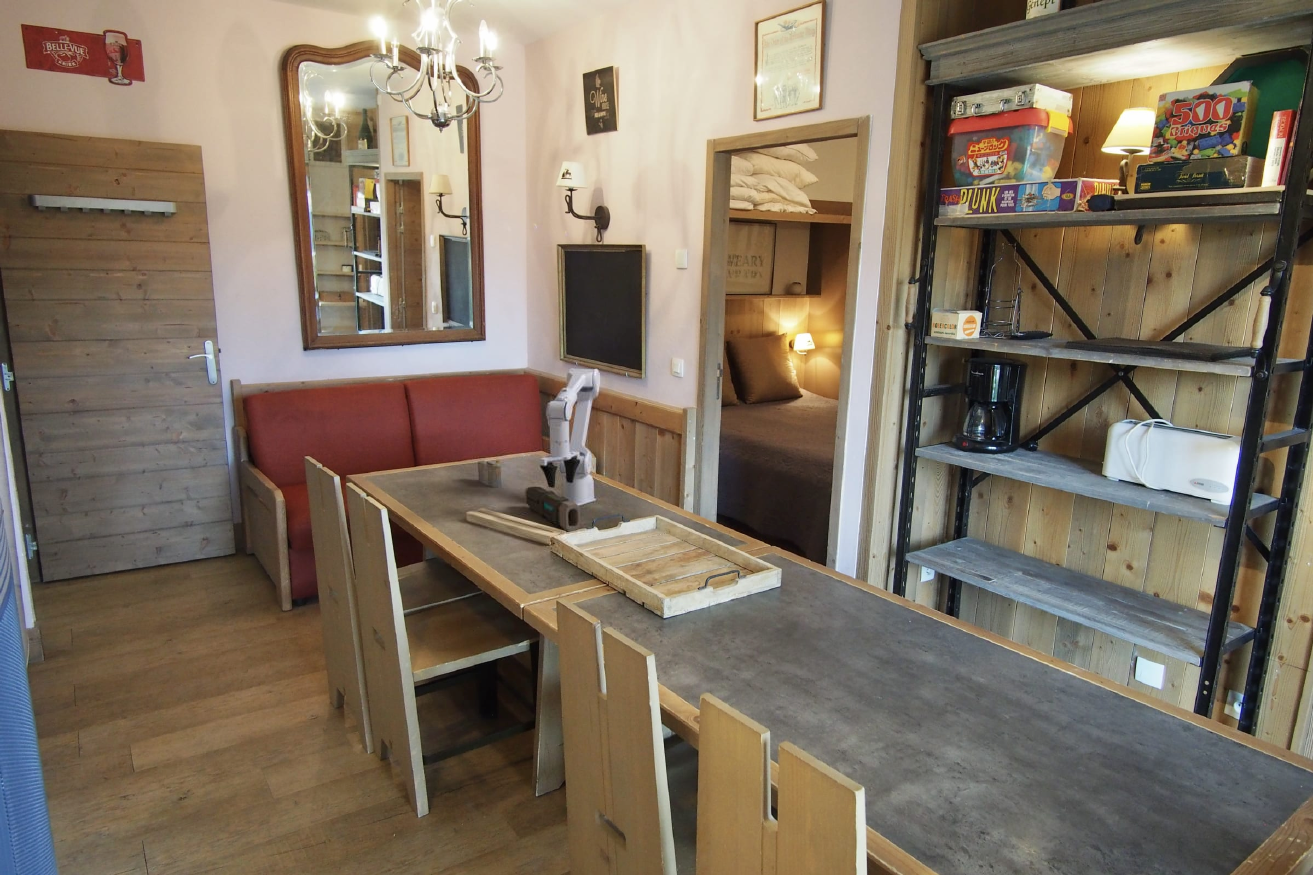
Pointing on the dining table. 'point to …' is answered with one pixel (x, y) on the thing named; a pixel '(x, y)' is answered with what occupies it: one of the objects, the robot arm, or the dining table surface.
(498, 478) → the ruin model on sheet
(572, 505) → the tube
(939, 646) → the dining table surface
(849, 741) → the dining table surface
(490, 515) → the plank
